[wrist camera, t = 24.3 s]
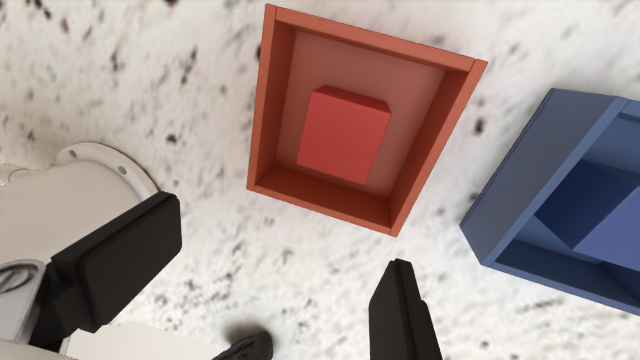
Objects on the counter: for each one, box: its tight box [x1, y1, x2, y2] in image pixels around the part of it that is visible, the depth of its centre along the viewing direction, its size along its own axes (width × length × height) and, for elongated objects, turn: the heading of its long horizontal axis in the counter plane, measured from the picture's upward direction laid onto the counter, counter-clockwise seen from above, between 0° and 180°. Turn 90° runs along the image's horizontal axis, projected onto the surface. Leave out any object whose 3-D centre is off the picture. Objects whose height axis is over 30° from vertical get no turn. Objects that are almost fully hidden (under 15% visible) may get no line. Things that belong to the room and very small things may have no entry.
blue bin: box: [459, 88, 640, 316], centre depth 15 cm, size 11×11×4 cm
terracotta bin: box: [246, 4, 488, 237], centre depth 16 cm, size 11×11×4 cm
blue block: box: [533, 158, 640, 271], centre depth 14 cm, size 4×4×4 cm
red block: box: [296, 85, 392, 185], centre depth 15 cm, size 4×4×4 cm
